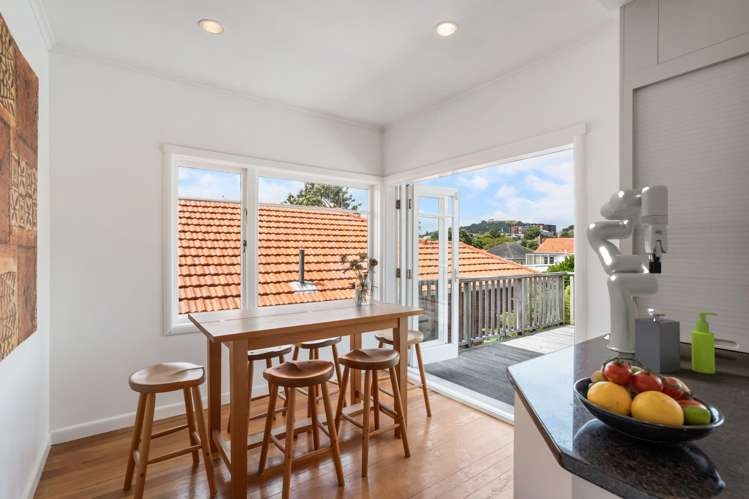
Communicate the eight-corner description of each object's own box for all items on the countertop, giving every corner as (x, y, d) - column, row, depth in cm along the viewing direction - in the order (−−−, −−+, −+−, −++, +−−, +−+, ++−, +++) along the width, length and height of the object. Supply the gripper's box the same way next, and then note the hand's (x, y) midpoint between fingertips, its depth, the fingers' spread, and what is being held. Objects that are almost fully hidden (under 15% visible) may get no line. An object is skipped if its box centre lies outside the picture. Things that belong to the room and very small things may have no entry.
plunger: (641, 361, 134) (640, 308, 134) (655, 359, 135) (654, 307, 135) (659, 366, 128) (658, 310, 128) (673, 365, 129) (672, 309, 129)
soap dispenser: (722, 374, 124) (721, 313, 124) (698, 373, 126) (697, 313, 125) (710, 368, 130) (709, 310, 130) (688, 367, 131) (687, 310, 131)
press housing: (635, 365, 135) (634, 318, 135) (655, 362, 137) (654, 317, 137) (659, 373, 126) (659, 323, 126) (680, 370, 128) (679, 321, 128)
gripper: (674, 219, 123) (674, 275, 124) (661, 221, 137) (662, 272, 137) (646, 220, 127) (647, 274, 127) (637, 222, 140) (637, 271, 140)
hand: (655, 273), depth 132 cm, fingers closed
